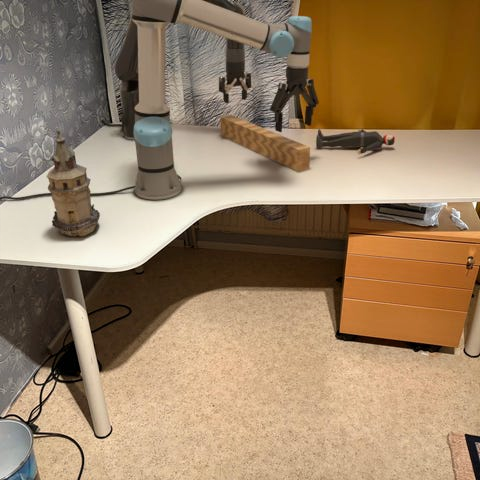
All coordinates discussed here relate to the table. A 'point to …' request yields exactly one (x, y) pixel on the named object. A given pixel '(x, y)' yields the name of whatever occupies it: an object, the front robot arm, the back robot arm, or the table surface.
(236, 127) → the post
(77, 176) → the miniature building
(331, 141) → the toy
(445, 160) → the table surface
